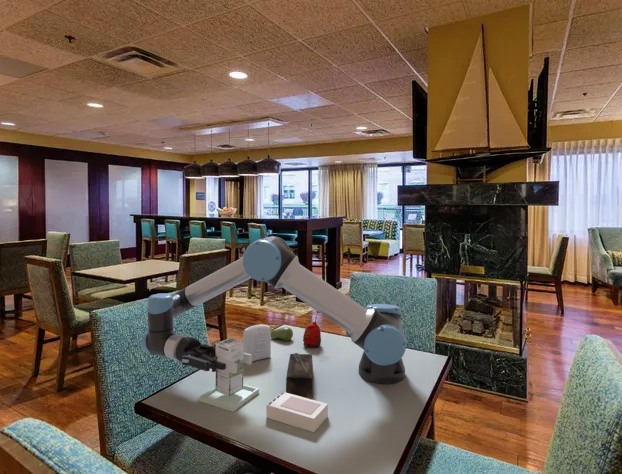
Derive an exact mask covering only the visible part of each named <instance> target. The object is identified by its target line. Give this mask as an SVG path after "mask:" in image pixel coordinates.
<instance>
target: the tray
mask: <svg viewBox="0 0 622 474" xmlns="http://www.w3.org/2000/svg"><path fill="white" fill-rule="evenodd" d="M259 393H260V388H259V387H254V386H250V385H248V384H244V383H243V389H242V390H240V391H238V392H236V393H234V394H233V395H231V396H227V395H224V394H222V393H220V392H217V391H216V386H214V387H213V388H211V389H209V390H208V391H206V392H205V393H203V394H201V395H200V396H199V399H198V400H199V402H201V403H205V404H207V405H210V406H214V407H217V408H219V409H223V410H225V411H229V412H232V413H233V412H235V411H236V410H237V409H239V408H240V407H242V406H243V405H244V404H246V403H247V402H249V401H250V400H252V399H253V398H254V397H255V396H256V395H258V394H259Z"/></svg>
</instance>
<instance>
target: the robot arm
mask: <svg viewBox="0 0 622 474" xmlns="http://www.w3.org/2000/svg"><path fill="white" fill-rule="evenodd" d="M250 279H253V280H254V281H258V282H265V283H267V284H268V285H269V286H271V287H272V288H274V289H281V288H283V289H284V290H286V291H287V292H289V293H291V294H292V295H293V296H295V297H296V298H298V300H300V301H302V302H303V303H305V304H306V305H307V306H309V307H311V309H313V310H314V311H315V312H316V311H318V312H319V313H318V314H321V315H322V316H323V317H325V318H326V319H327V320H329V321H330V322H332V323H334V324H335V325H337V326H338V327H340V328H341V329H342V330H344V331H345V332H346V333H348V334H349V335H350V339H351V342H352V343H354V344H355V345H356V346H358V347H359V348H361V349H362V350H363V352H362V354H361V356H360V357H361V358H360V360H359V364H358V374H359V376H360V377H361V378H363V379H364V380H366V381H369V382H372V383H377V384H385V385H386V384H389V385H390V384H394V383H398V382H401V381H403V380H404V379H405V377H406V367H405V364H404V361H403V357H404V355H405V352H406V349H407V337H406V335H405V333H404V330H403V326H402V316H403V315H402V309H401V307H400V306H398V305H394V304H385V303H372V304H367V305H366V306H365V307H364V306H362V305H361V304H359V303H357V302H356V301H355V300H353V299H351V298H350V297H349V296H347V295H346V294H344V293H343V292H341V291H340V290H339V289H337V288H335V287H334V286H333V285H331V284H329V282H327V281H325V280H324V279H323V278H321V277H319V276H318V275H316V274H315V273H314V272H313V271H311V270H309V269H308V268H306V267H305V266H304V265H302V264H301V263H300V262H299V257H298V255H296V254H295V253H293V252H292V251H291V247H290V246H289V244H288V243H287V241H286V240H284V239H283V238H282V237H279V236H273V235H271V236H270V235H269V236H266V237H264V238H259V239H256V240H254V241H253V242H251V243H250V244H249V245H248V246H247V247H246V249H245V250H244V253H243V255H242V257H240V258H239V259H237V260H235V261H233V262H231V263H229V264H228V265H226V266H224V267H221V268H220V269H218V270H216V271H214V272H213V273H210V274H209V275H206V276H205V277H203V278H201V279H199V280H197V281H195V282H193V283H191V284H190V285H188V286H186V287H184V288H182V289H180V290H179V291H176V292H175V293H173V294H171V293H164V292H163V293H156V294H151V295H150V296H148V299H147V307H146V309H147V326H148V328H147V329H148V330H146V331H145V332H144V334H143V335H142V339H141V341H140V345H141V348H142V350H143V351H144V352H146V353H149V354H151V355H153V356H159V357H164V358H166V359H171V360H174V361H176V362H180V363H181V364H182V365H183V366H189V367H192V368H195V369H198V370H201V371H204V372H210V370H211V372H212V373H216V369H220V370H223V371H227V372H231V373H235V374H236V373H237V363H234V362H230V361H226V360H222V359H217V361H216V343H217V342H215V341H212V342H211V345H208V344H202V343H201V341H200V340H199V339H197V338H195V337H190V336H187V335H186V336H185V335H182V334H177V333H175V332H174V327H175V326H174V319H176V318H178V317H179V316H180V315H183V314H185V313H186V312H189V310H192V309H194V308H196V307H197V306H199V305H201V304H203V303H206V302H207V301H209V300H211V299H213V298H215V297H218V295H221V294H223V293H225V292H226V291H229V290H230V289H233V288H234V287H236V286H238V285H241V284H242V283H244V282H247V281H248V280H250ZM243 357H244V359H243V364H246V365H247V364H248V365H252V364H253V361H252V354H247V353H244V356H243Z"/></svg>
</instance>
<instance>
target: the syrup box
mask: <svg viewBox="0 0 622 474" xmlns="http://www.w3.org/2000/svg"><path fill="white" fill-rule="evenodd" d="M243 356H244V343H243V340H242V341H241V340H240V339H237V338H234V337H233V338H232V337H230V338H227V339H224V340H222V341H221V340H220V341H218V342H216V357H215V360H216V361H217V359H222V360H226V361H230V362H234V363H237V373H236V374H235V373H231V372H227V371H223V370H220V369H216V371H215V387H216V391H217V392H220V393H222V394H224V395H227V396H231V395H233V394H234V393H236V392H238V391H240V390H242V389H243V384H244V363H243V359H244V357H243Z"/></svg>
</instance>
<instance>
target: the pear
mask: <svg viewBox="0 0 622 474" xmlns="http://www.w3.org/2000/svg"><path fill="white" fill-rule="evenodd" d="M293 335H294V332H293V330H292V328H290V327H288V326H287V327H286V326H285V327H279V328H274V329H273V330H271V340H277V339H280V340H283V341H284V342H285V341H286V342H287V341H290V340H291V339H293Z"/></svg>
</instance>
